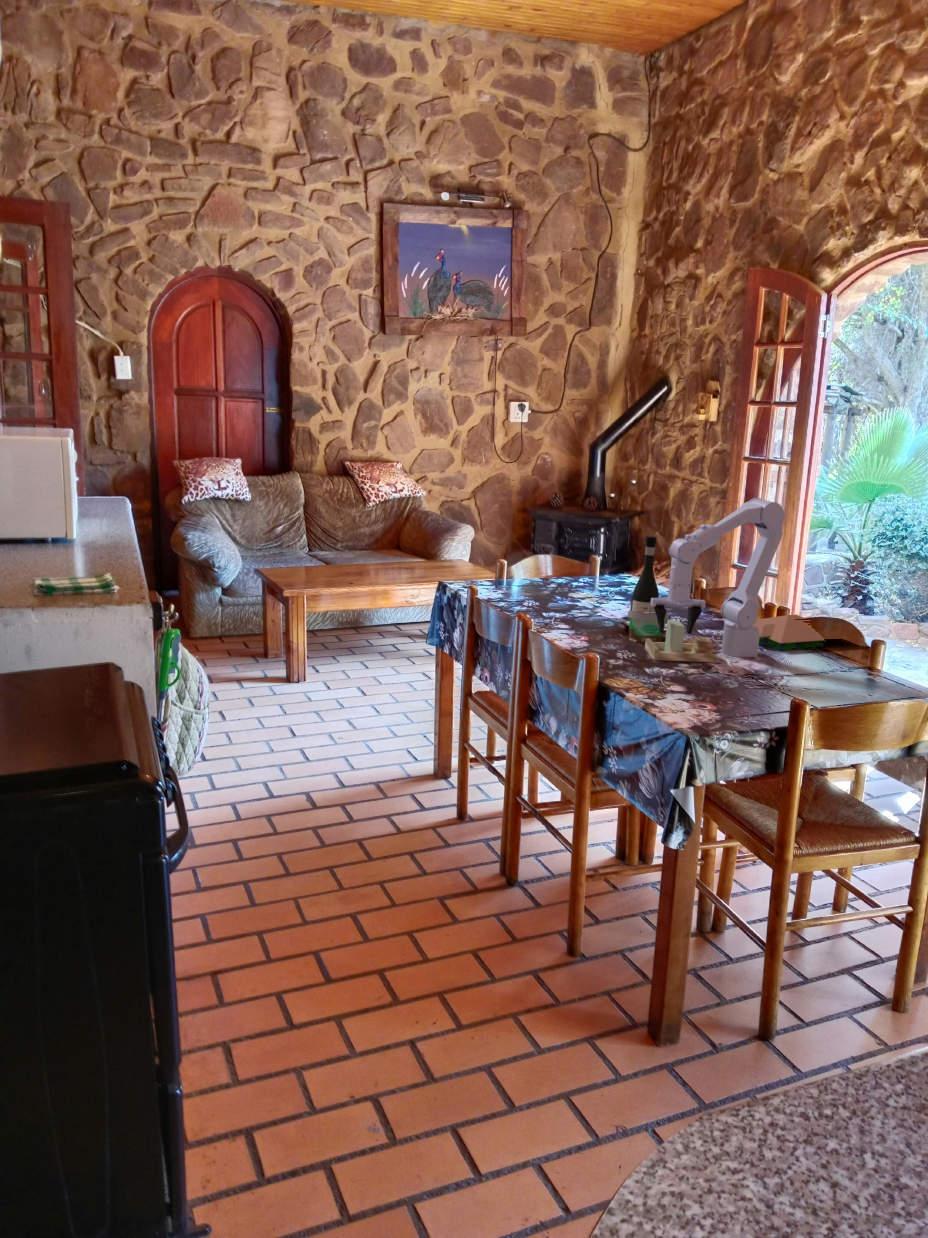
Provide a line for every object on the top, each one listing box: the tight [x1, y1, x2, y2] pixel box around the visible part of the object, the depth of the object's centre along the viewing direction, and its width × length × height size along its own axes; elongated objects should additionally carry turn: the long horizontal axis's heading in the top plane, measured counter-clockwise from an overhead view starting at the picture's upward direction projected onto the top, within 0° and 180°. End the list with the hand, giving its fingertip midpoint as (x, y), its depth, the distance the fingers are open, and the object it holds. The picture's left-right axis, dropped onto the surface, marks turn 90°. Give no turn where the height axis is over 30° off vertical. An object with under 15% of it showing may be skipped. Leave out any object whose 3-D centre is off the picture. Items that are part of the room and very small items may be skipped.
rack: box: [644, 638, 720, 663], centre depth 274 cm, size 18×11×4 cm, turn 93°
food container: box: [626, 608, 669, 645], centre depth 285 cm, size 12×6×10 cm, turn 105°
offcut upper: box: [693, 636, 713, 650], centre depth 273 cm, size 4×5×2 cm
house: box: [753, 614, 825, 651], centre depth 300 cm, size 23×33×8 cm
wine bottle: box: [630, 535, 660, 612], centre depth 291 cm, size 8×8×30 cm
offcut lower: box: [691, 644, 714, 654], centre depth 274 cm, size 4×6×2 cm, turn 3°
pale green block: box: [664, 619, 686, 653], centre depth 273 cm, size 3×7×9 cm, turn 3°
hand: (674, 632), depth 272 cm, fingers open, 7 cm apart
